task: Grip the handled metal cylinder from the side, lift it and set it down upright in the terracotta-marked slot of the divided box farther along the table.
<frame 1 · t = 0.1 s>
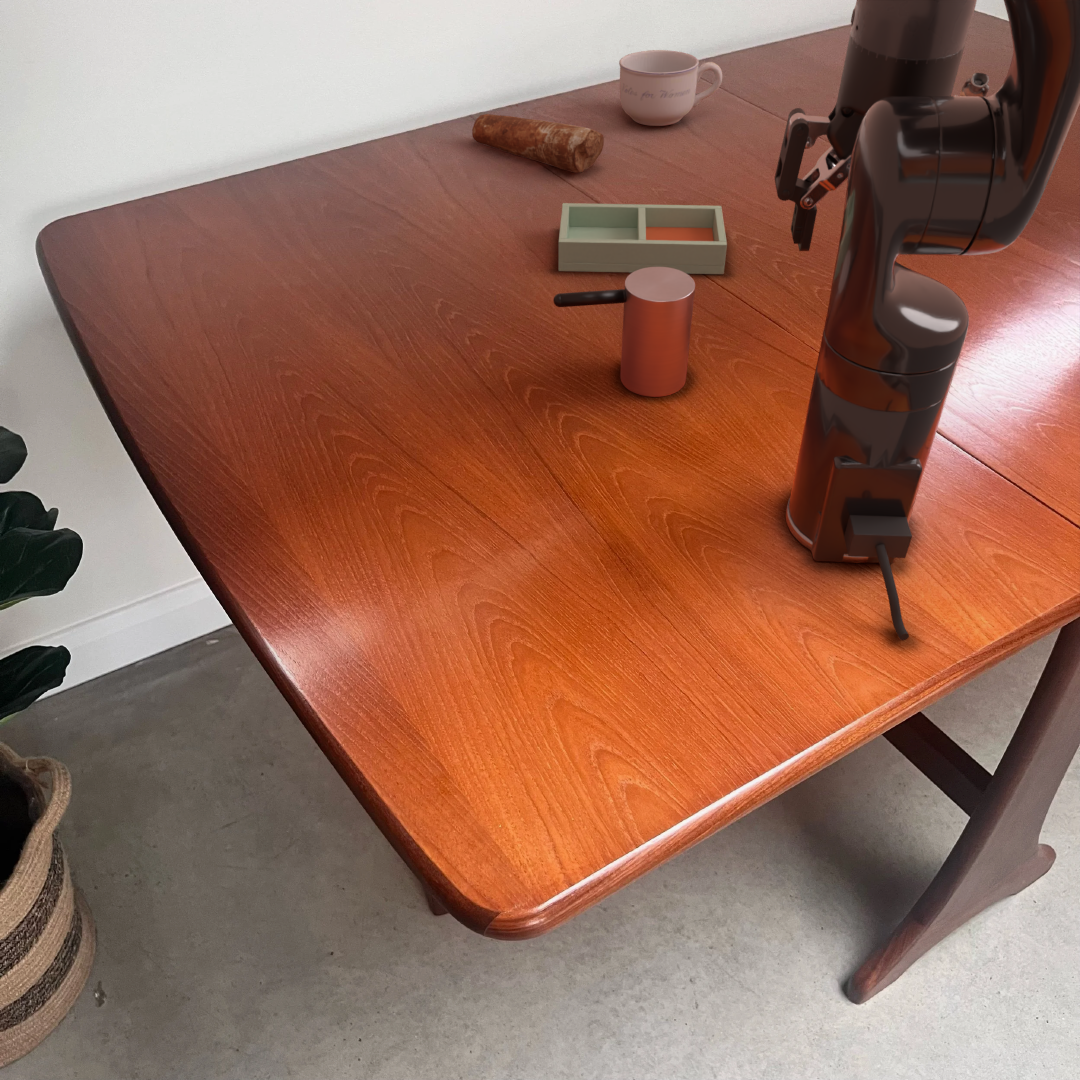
hand: (858, 247, 81), 17 cm above the table, tool pointing down, fingers open, 8 cm apart
vase: (967, 116, 146), on the table
handled metal cylinder: (652, 378, 99), on the table
divided box: (640, 252, 117), on the table
bread: (531, 160, 136), on the table
teacup: (666, 121, 146), on the table
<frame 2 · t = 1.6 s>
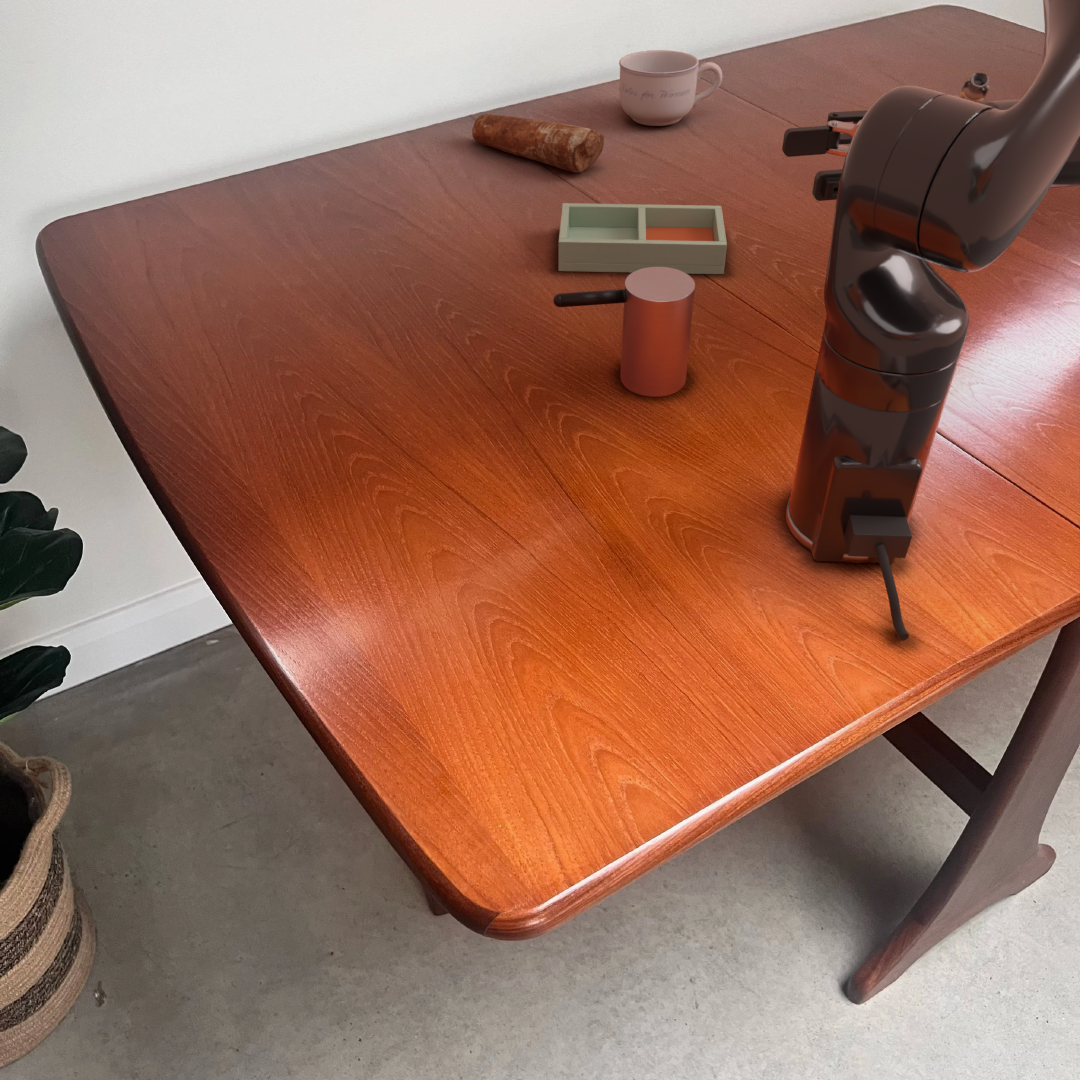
hand: (799, 164, 86), 20 cm above the table, tool horizontal, fingers open, 8 cm apart
nothing on the table moved.
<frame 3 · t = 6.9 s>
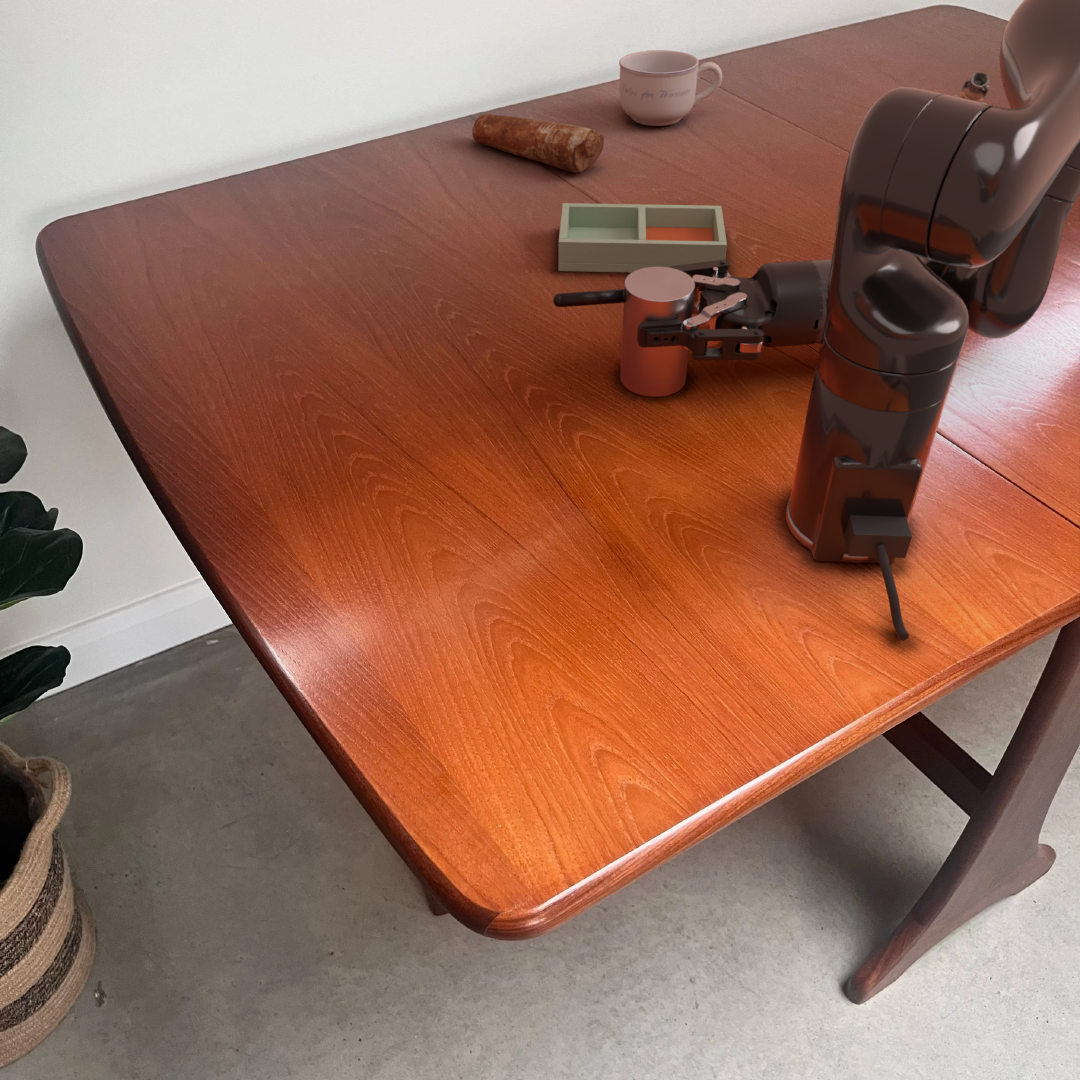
hand: (632, 315, 94), 7 cm above the table, tool horizontal, fingers closed on handled metal cylinder, 6 cm apart
handled metal cylinder: (652, 378, 99), on the table, touching gripper
everything else where it was.
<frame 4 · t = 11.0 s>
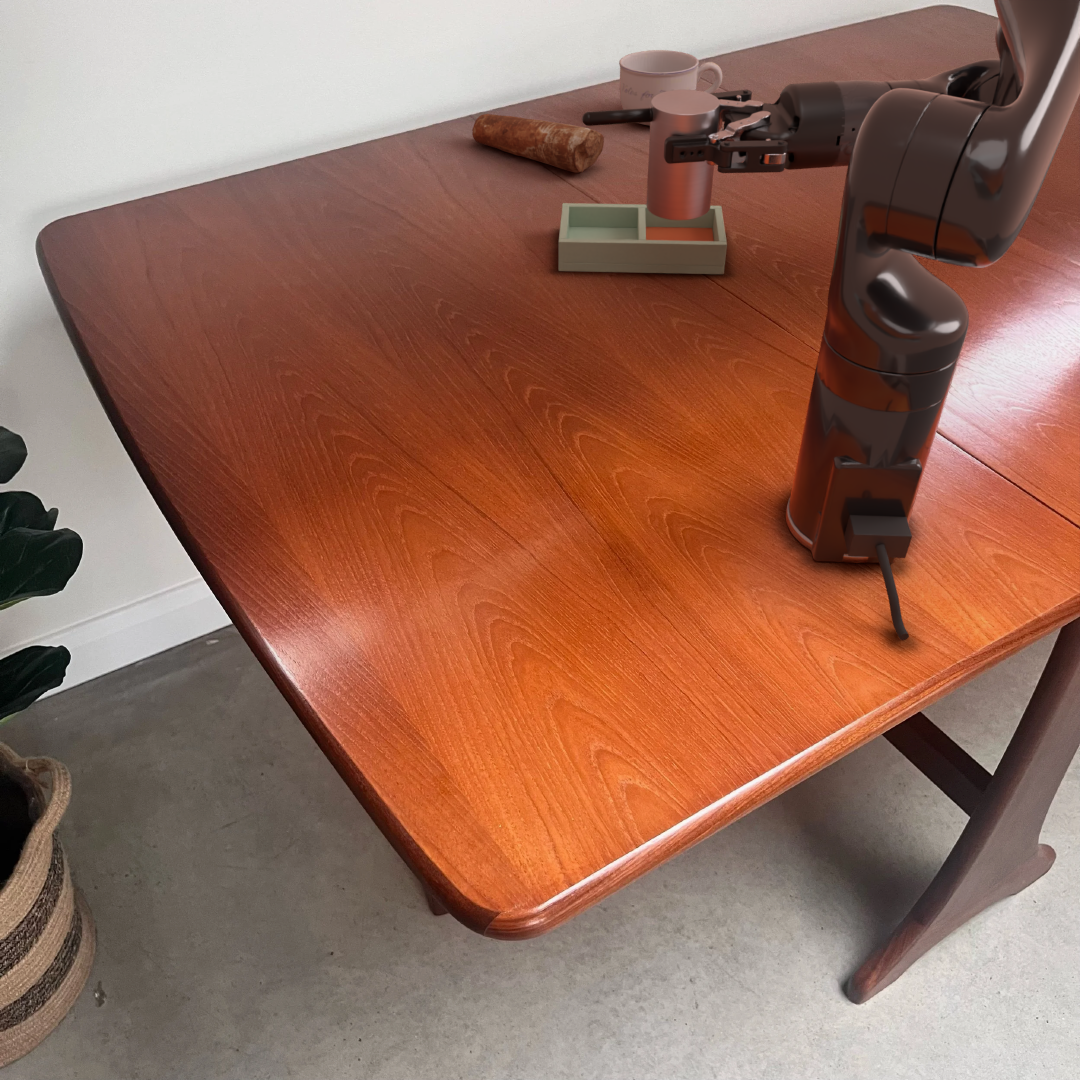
hand: (658, 135, 97), 18 cm above the table, tool horizontal, fingers closed on handled metal cylinder, 6 cm apart
handled metal cylinder: (678, 206, 102), point 11 cm above the table, touching gripper
everything else where it was.
when the fingers open (8 cm above the table, at t = 15.1 s): handled metal cylinder stays where it is, resting on divided box.
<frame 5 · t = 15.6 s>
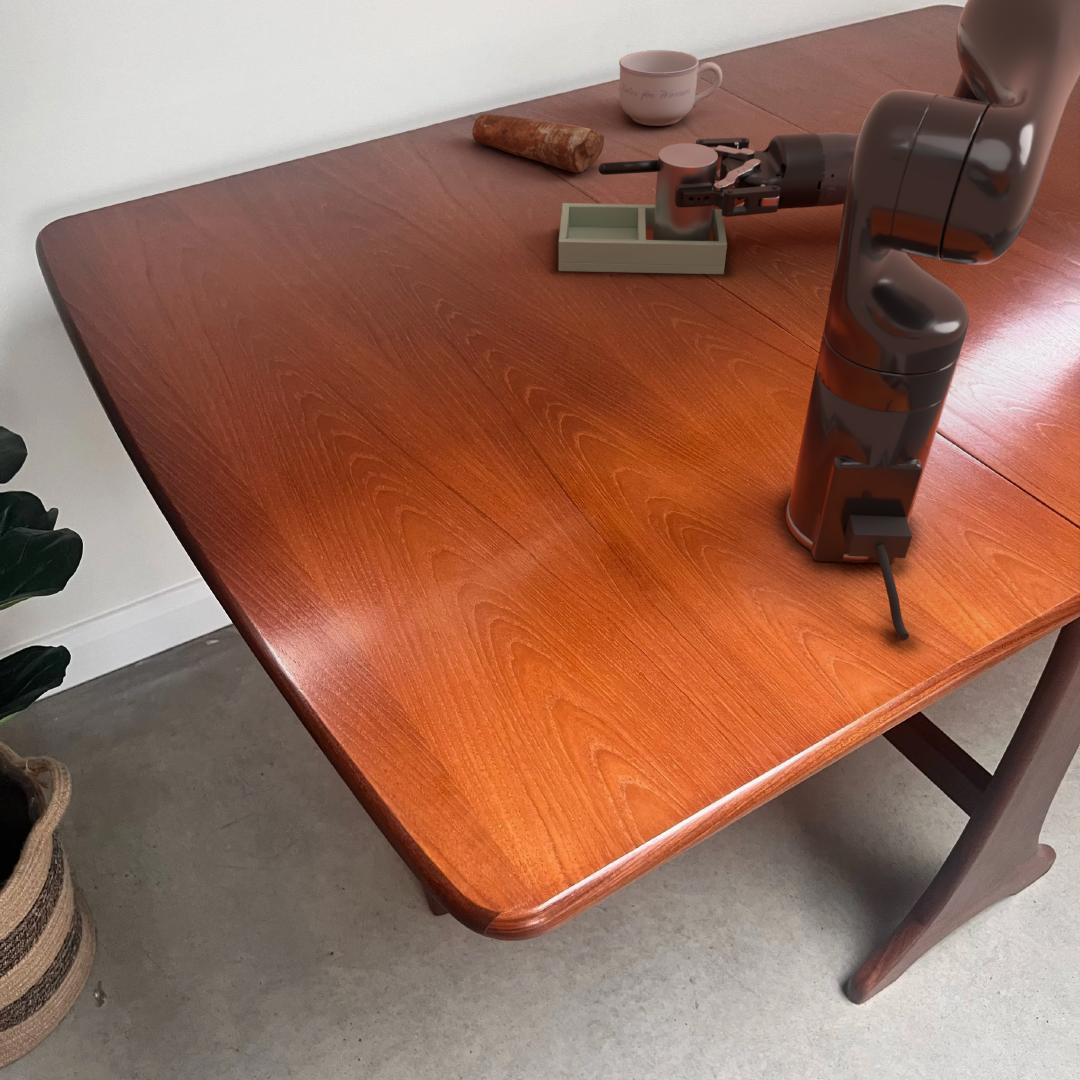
hand: (667, 179, 111), 9 cm above the table, tool horizontal, fingers open, 8 cm apart
handled metal cylinder: (680, 242, 116), point 1 cm above the table, touching divided box
everything else where it was.
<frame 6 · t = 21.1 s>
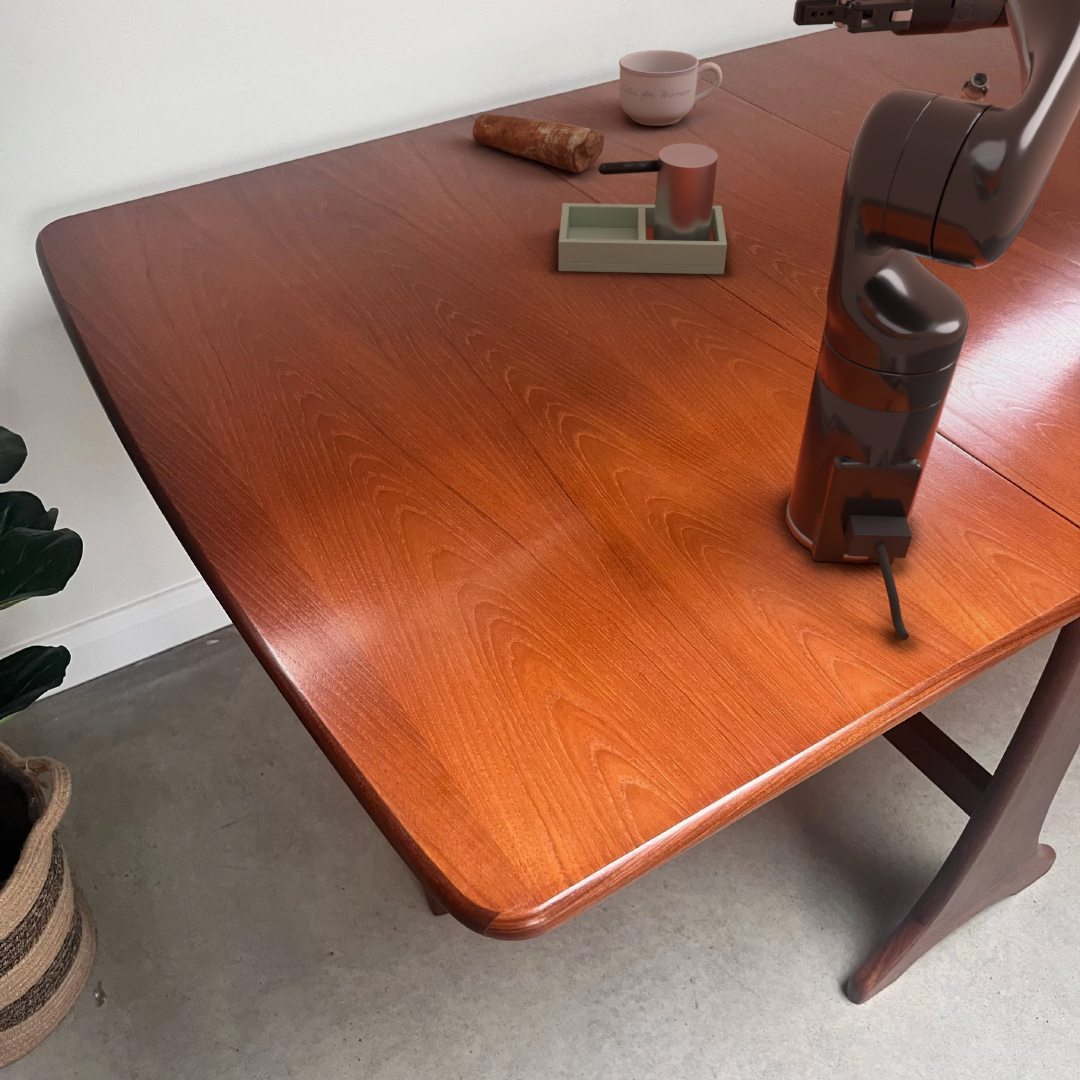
nothing on the table moved.
at the end: handled metal cylinder 0.1 cm from the target spot in the divided box, point 1.2 cm above the divided box's base; handled metal cylinder tilted 0°; the gripper is holding nothing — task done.
